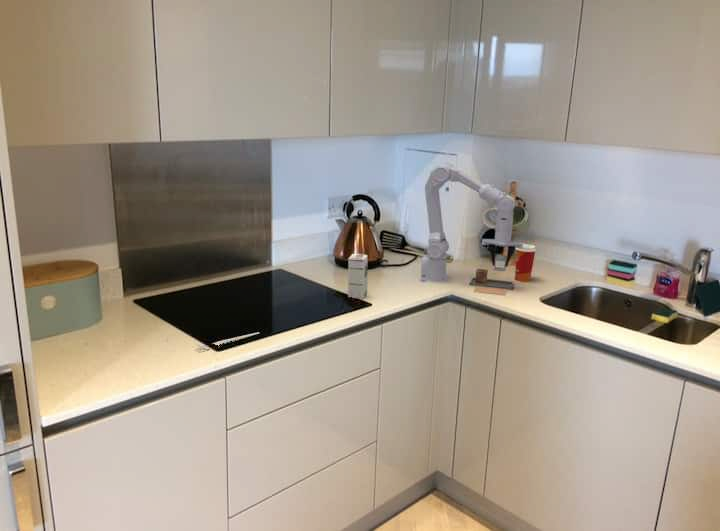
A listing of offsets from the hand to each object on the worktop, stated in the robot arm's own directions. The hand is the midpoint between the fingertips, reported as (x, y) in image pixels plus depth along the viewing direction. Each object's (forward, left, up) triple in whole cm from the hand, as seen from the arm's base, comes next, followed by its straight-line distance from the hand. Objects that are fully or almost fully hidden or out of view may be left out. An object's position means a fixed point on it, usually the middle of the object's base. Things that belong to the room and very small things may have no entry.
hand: (500, 265), depth 218 cm
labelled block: (0, 0, -2) cm, 2 cm away
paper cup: (+9, +13, -9) cm, 18 cm away
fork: (-69, -77, -10) cm, 104 cm away
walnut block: (-6, +3, -8) cm, 11 cm away
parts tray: (-2, +3, -9) cm, 10 cm away
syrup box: (-46, -27, -9) cm, 54 cm away
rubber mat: (-2, -5, -9) cm, 11 cm away
